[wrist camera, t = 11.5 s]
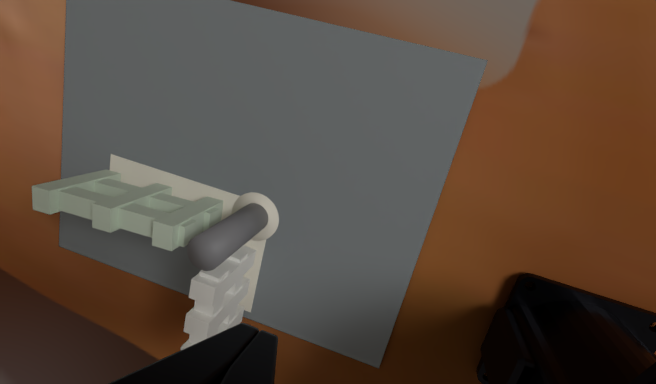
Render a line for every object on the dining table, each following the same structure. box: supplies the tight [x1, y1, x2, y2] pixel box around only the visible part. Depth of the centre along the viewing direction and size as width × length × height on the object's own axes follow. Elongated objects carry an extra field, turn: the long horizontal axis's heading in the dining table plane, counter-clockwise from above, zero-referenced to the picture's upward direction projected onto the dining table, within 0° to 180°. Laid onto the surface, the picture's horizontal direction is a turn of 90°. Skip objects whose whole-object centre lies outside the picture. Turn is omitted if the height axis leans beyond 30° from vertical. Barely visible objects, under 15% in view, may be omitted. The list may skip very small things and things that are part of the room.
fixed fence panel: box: [181, 203, 268, 350], centre depth 19 cm, size 7×2×5 cm, turn 166°
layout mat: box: [59, 0, 487, 368], centre depth 20 cm, size 22×17×1 cm
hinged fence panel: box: [32, 170, 223, 251], centre depth 19 cm, size 8×1×4 cm, turn 79°
